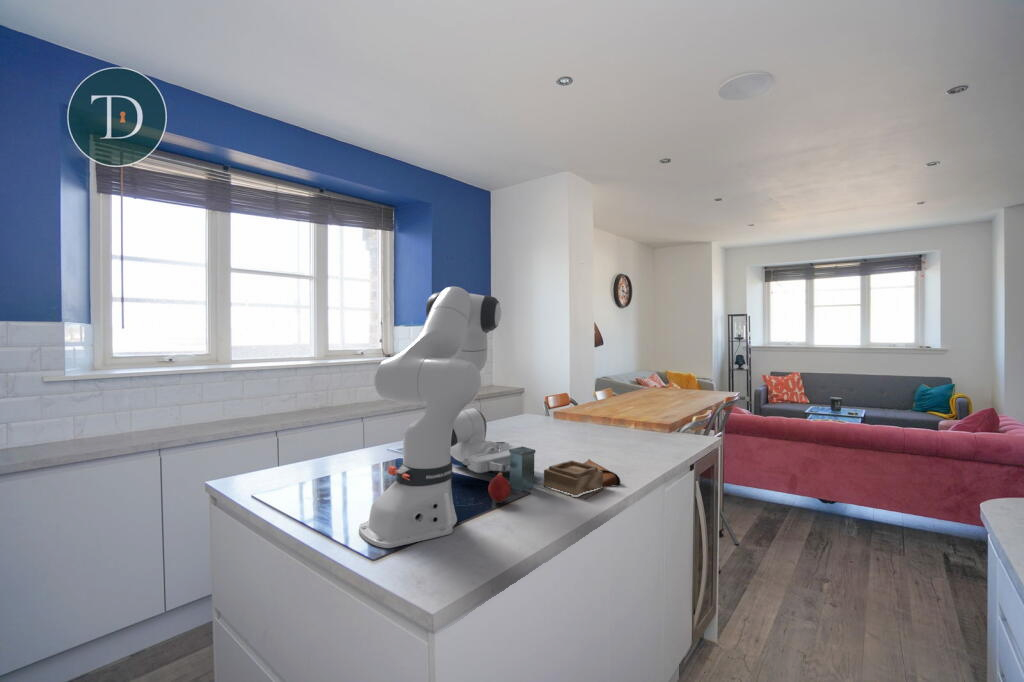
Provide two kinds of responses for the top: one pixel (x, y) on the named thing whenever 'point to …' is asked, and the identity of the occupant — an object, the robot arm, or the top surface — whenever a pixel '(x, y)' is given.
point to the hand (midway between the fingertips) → (515, 465)
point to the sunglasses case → (605, 474)
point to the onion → (499, 488)
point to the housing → (522, 468)
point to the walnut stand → (573, 477)
